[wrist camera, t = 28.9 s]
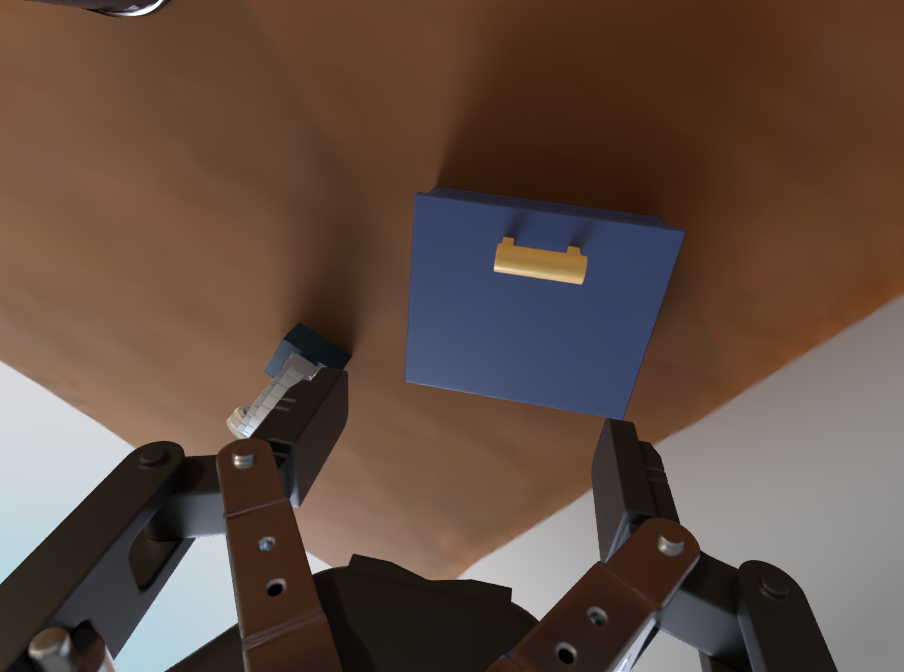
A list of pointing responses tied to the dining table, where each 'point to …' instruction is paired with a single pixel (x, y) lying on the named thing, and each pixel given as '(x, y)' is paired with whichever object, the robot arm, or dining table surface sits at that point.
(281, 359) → the watch
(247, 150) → the dining table surface
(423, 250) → the lid
